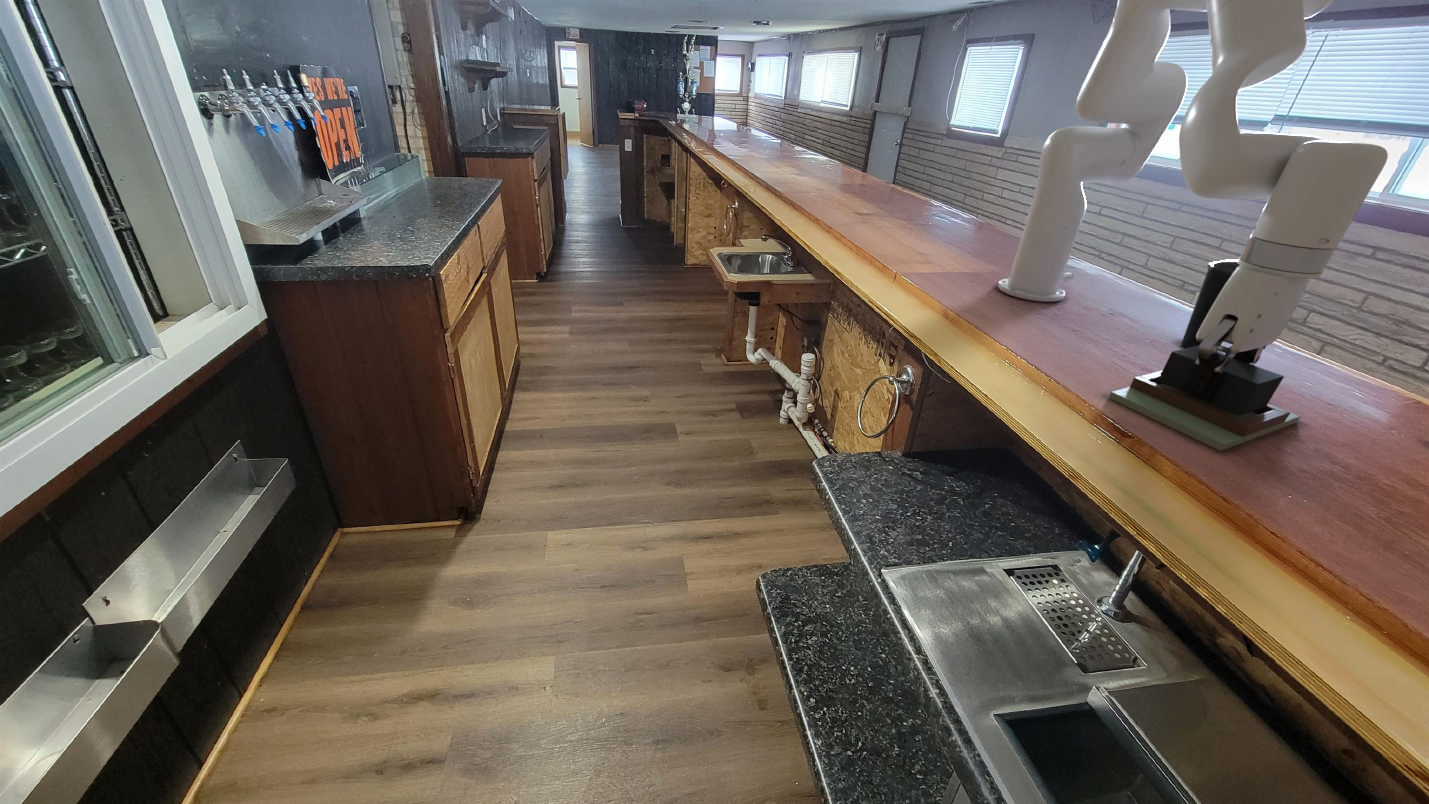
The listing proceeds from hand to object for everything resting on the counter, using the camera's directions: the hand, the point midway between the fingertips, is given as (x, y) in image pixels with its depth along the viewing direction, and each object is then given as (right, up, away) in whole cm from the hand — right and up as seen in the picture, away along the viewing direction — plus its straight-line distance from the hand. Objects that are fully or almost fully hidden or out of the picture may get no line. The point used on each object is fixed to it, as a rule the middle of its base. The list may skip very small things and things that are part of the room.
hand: (1211, 390), depth 75 cm
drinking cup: (+16, +8, +21) cm, 28 cm away
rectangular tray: (0, -3, +2) cm, 3 cm away
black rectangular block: (0, 0, 0) cm, 1 cm away
